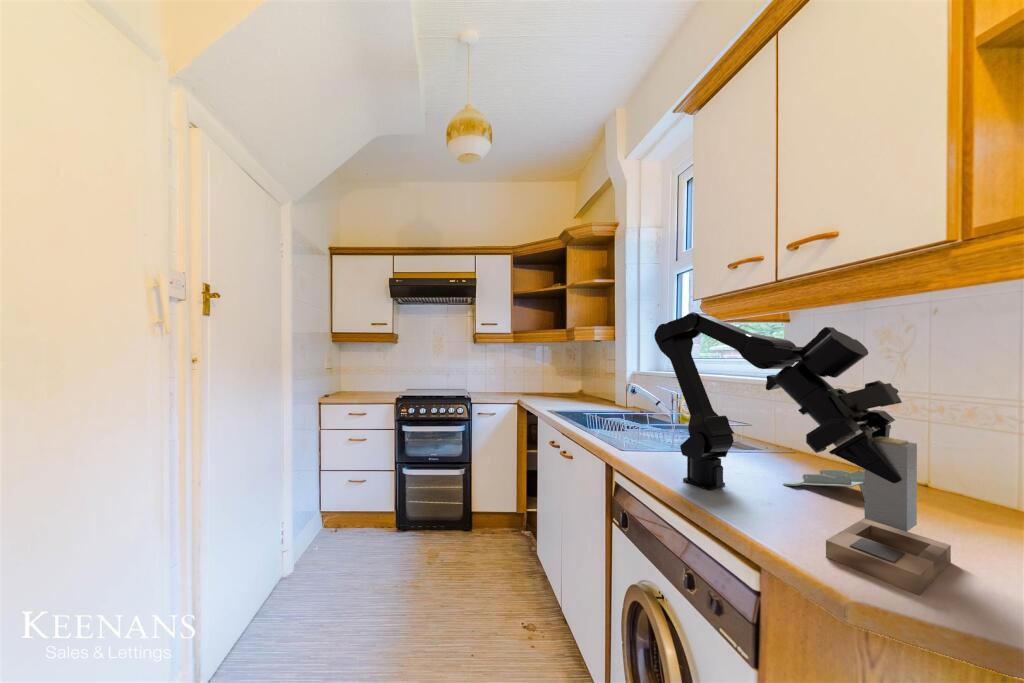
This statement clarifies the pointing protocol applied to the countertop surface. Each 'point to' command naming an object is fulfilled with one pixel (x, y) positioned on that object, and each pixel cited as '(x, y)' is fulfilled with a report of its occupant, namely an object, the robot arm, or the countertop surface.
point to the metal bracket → (832, 479)
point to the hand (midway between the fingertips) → (903, 479)
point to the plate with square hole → (890, 554)
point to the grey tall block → (893, 486)
